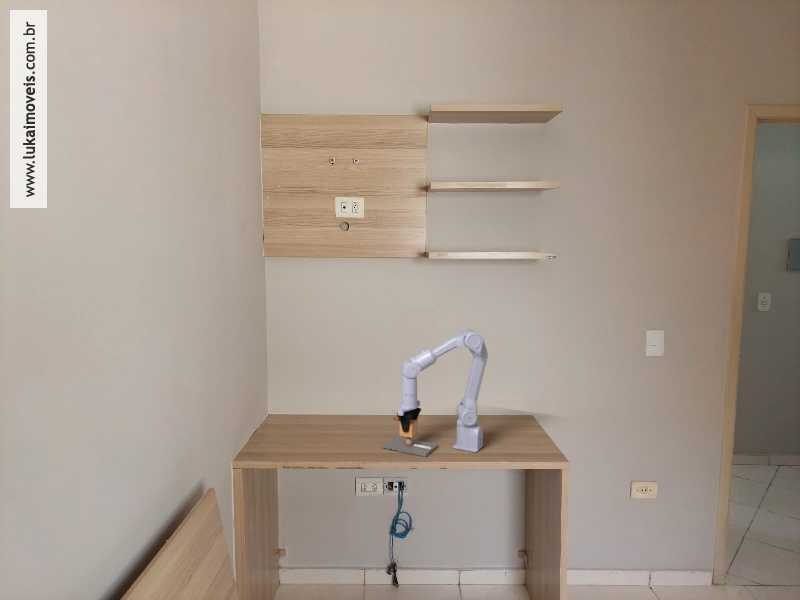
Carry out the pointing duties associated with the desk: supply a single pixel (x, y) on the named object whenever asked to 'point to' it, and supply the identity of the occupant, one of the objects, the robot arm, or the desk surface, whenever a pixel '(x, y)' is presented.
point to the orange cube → (410, 429)
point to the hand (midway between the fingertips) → (409, 429)
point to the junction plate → (410, 446)
